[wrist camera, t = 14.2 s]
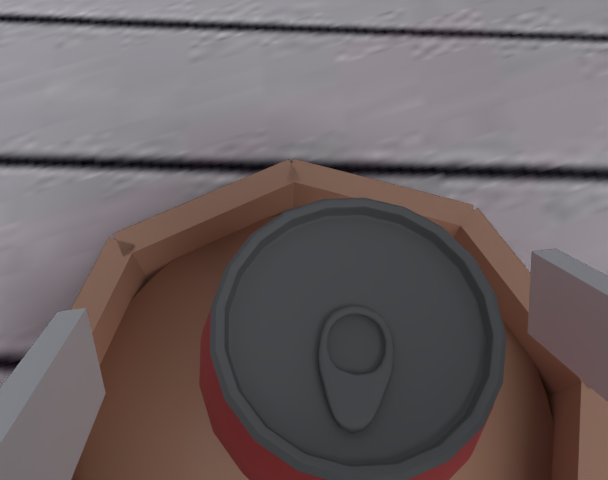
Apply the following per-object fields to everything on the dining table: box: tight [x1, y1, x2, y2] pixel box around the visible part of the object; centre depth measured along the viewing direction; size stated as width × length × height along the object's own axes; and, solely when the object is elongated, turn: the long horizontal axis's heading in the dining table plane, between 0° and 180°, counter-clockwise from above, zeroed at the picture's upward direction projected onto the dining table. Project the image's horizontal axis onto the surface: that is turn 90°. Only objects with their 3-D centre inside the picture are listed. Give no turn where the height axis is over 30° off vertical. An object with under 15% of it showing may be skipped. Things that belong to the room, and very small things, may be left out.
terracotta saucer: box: [71, 159, 608, 480], centre depth 20 cm, size 20×20×3 cm
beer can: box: [199, 197, 507, 480], centre depth 15 cm, size 7×7×12 cm
